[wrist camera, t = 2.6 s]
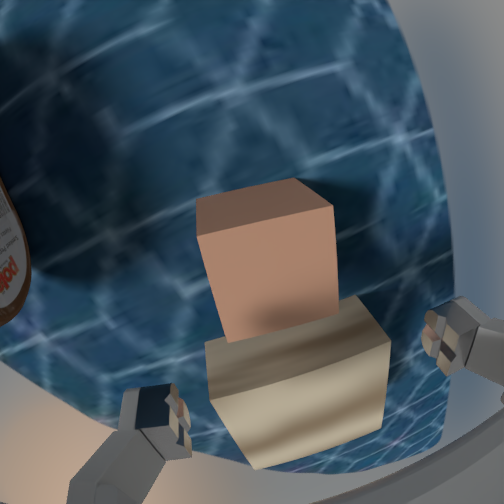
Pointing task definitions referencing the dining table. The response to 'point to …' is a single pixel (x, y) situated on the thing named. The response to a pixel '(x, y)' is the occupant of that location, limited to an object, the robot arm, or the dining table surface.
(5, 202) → the tin
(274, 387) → the base block
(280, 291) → the cube
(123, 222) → the dining table surface
